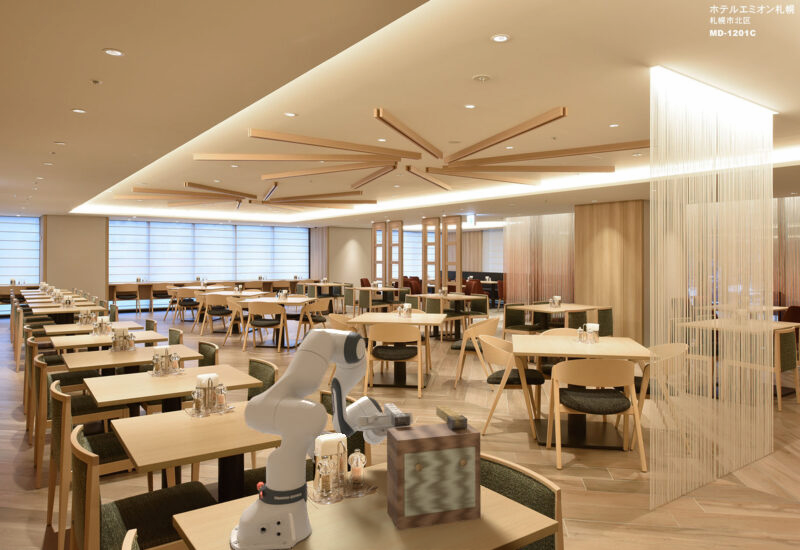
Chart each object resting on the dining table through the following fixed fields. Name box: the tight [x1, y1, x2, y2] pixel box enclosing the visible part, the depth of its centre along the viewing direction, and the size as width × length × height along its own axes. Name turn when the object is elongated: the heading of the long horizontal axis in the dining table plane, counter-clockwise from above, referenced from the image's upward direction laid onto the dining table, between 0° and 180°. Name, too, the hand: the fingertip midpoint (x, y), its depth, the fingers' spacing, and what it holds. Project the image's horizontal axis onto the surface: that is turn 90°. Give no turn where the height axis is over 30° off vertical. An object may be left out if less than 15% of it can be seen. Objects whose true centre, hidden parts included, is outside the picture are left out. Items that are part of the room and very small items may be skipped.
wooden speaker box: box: [386, 422, 482, 531], centre depth 161 cm, size 26×14×26 cm, turn 106°
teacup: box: [307, 430, 333, 464], centre depth 209 cm, size 12×15×10 cm
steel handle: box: [383, 402, 411, 427], centre depth 174 cm, size 5×17×3 cm, turn 16°
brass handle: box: [435, 404, 468, 430], centre depth 170 cm, size 5×17×3 cm, turn 16°
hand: (388, 415), depth 183 cm, fingers open, 8 cm apart
